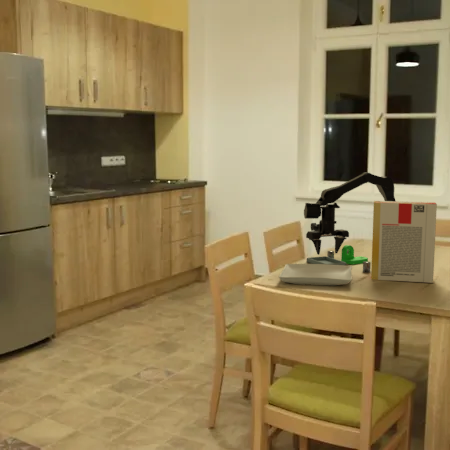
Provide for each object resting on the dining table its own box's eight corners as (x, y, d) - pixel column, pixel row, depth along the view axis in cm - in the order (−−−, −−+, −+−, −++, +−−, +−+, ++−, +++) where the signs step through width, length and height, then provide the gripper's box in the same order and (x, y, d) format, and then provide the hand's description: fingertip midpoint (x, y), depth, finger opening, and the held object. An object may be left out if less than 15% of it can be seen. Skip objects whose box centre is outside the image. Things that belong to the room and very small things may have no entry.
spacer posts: (358, 256, 285) (358, 248, 285) (402, 269, 257) (403, 259, 257) (324, 259, 278) (324, 251, 277) (365, 272, 250) (366, 263, 249)
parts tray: (325, 260, 276) (325, 256, 275) (346, 266, 261) (346, 262, 261) (306, 262, 272) (306, 257, 271) (326, 268, 257) (326, 264, 257)
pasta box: (431, 278, 239) (435, 202, 235) (433, 282, 231) (436, 204, 228) (371, 275, 245) (374, 200, 241) (371, 279, 237) (373, 202, 233)
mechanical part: (350, 265, 266) (351, 247, 265) (341, 263, 271) (341, 245, 270) (370, 262, 272) (371, 245, 271) (361, 260, 277) (361, 243, 276)
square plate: (351, 273, 249) (352, 264, 248) (351, 289, 222) (352, 278, 222) (285, 271, 254) (285, 261, 254) (278, 285, 228) (278, 275, 227)
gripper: (335, 215, 275) (334, 249, 277) (299, 217, 268) (299, 252, 270) (350, 218, 265) (349, 253, 267) (313, 220, 257) (312, 256, 259)
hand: (327, 253), depth 266 cm, fingers open, 9 cm apart
